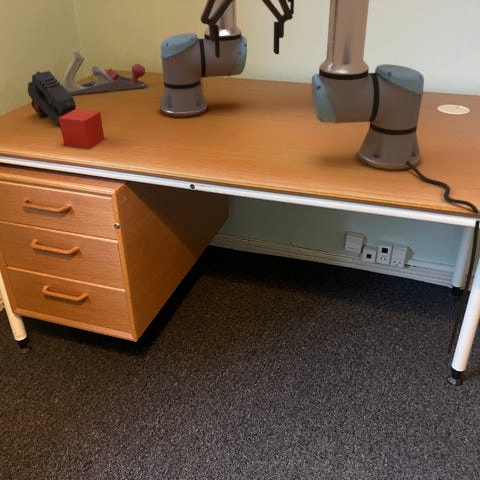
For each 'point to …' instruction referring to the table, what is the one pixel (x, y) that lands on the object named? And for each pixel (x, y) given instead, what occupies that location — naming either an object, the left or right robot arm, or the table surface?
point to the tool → (49, 96)
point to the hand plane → (100, 78)
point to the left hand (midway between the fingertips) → (247, 54)
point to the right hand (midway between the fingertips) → (313, 13)
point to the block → (81, 128)
